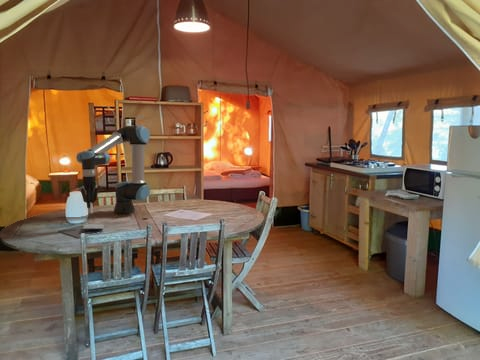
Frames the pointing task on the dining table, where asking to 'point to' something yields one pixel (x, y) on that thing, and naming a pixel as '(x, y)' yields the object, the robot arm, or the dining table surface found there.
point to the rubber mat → (76, 231)
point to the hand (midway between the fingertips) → (90, 212)
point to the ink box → (93, 227)
